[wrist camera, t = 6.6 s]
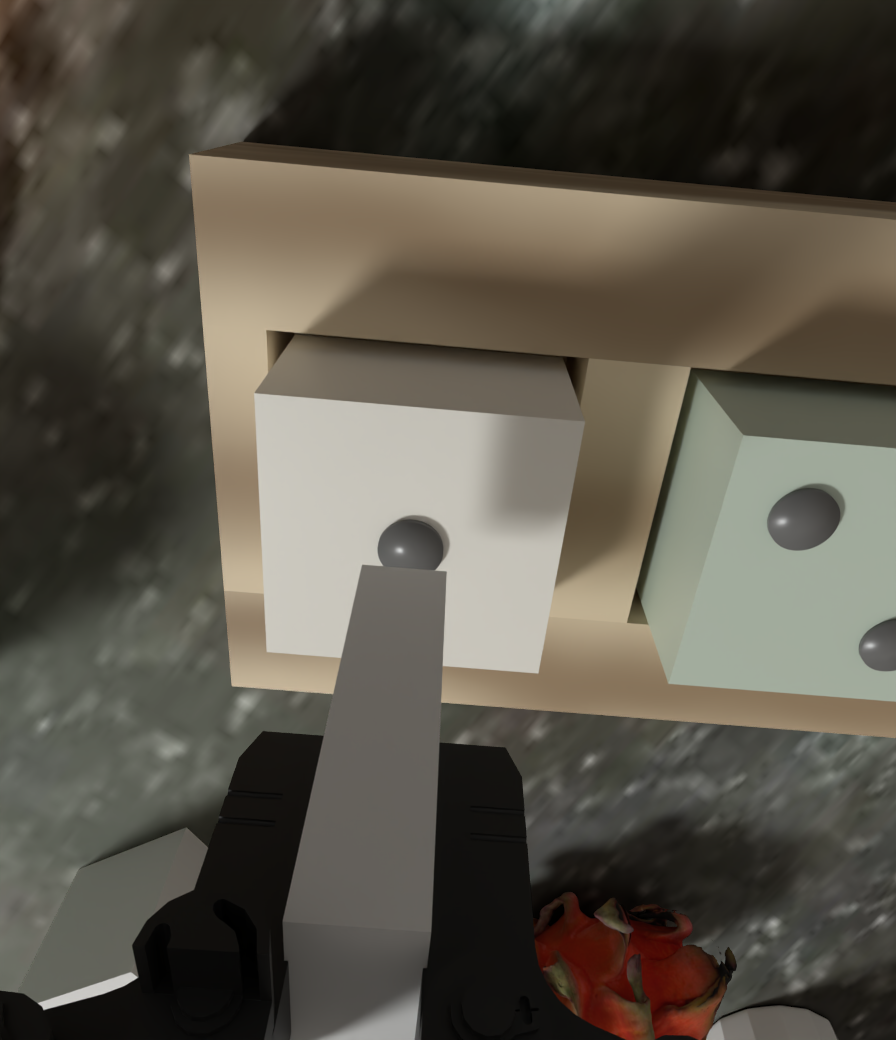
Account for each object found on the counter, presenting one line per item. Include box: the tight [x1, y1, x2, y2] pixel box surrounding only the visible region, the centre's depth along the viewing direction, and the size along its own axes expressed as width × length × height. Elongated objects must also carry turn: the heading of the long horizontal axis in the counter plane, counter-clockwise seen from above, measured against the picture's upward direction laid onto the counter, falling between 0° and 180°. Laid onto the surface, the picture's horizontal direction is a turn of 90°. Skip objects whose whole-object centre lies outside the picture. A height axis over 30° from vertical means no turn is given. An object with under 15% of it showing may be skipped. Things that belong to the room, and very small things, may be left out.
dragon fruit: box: [533, 892, 737, 1040], centre depth 31 cm, size 8×8×12 cm
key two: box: [636, 369, 896, 702], centre depth 18 cm, size 6×6×4 cm
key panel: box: [189, 142, 896, 738], centre depth 21 cm, size 14×29×4 cm, turn 85°
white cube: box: [17, 827, 208, 1010], centre depth 31 cm, size 6×6×6 cm
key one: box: [254, 334, 585, 673], centre depth 18 cm, size 6×6×4 cm
